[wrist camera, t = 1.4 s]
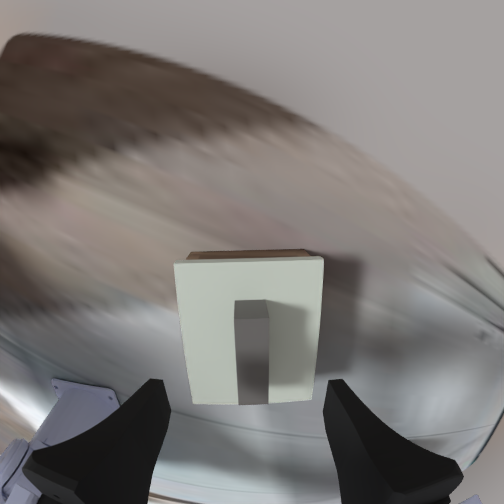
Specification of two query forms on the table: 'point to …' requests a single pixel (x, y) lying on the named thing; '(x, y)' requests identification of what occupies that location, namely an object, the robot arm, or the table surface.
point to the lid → (250, 328)
